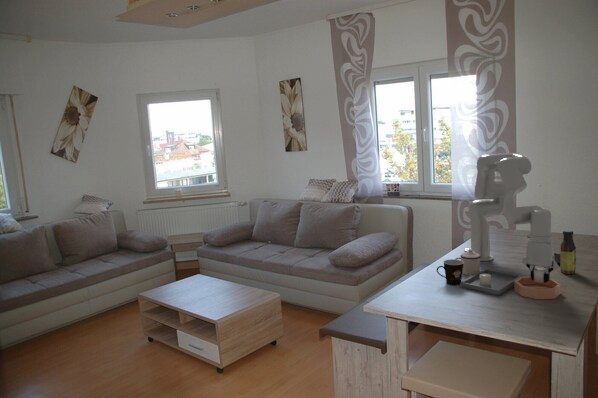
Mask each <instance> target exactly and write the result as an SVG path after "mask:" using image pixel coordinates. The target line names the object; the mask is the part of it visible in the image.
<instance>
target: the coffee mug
mask: <svg viewBox="0 0 598 398" xmlns="http://www.w3.org/2000/svg"><path fill="white" fill-rule="evenodd" d="M463 263H464V262H463V261H461V259H457V260H455V258H454V259H444V260H443V265H439V266H437V267H436V272H437V275H439V276H441V277H442V278H444V279H445V282H446V285H448V286H456V287H457V286H460V282H462V279H463V274H462V272H463ZM440 268H442V269H444V274H445V275H442V274H440V272H439V269H440Z"/></svg>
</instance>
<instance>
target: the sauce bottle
mask: <svg viewBox="0 0 598 398" xmlns="http://www.w3.org/2000/svg"><path fill="white" fill-rule="evenodd" d="M562 235H563V239H562V242H561V244H560V252H559V254H560V266H559V269H560V272H561V274H564V275H575V273H576V270H577V247H576V244H575V242H574V238H573V237H574V230H570V229H566V230H565V229H564V230H563V231H562Z"/></svg>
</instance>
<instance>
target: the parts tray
mask: <svg viewBox="0 0 598 398" xmlns="http://www.w3.org/2000/svg"><path fill="white" fill-rule="evenodd" d="M480 274H489V275H491V287H490V288H487V287H483V286H480ZM520 277H523V275H522V274H516V273H509V272H504V271H499V270H495V269H494V270H493V269H488V268H484V269H483V270H480V272H479V273H477V274H475V275H473V276H469V277H467V278H466V279H464V280H463V281H461V282H460V285H459V288H460V289H464V290H468V291H469V290H470V291H473V292H476V293H477V292H478V293H483V294H487V295H490V296H491V295H492V296H495V297H500V296H502V295H503V294H504V293H506V292H507V291H509V290H511V289H513V288H514V281H515V280H517V279H519V278H520Z"/></svg>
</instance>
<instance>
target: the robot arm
mask: <svg viewBox="0 0 598 398" xmlns="http://www.w3.org/2000/svg"><path fill="white" fill-rule="evenodd" d="M476 171H477V174H476V181H475V184H474V185H475V186H474V196H475V198H477V199H475V200H472V201H471V202H470V203H469V204H468V207H467V208H468V213H469V215H468V216H469V219H470V220H469V221H470V223H469V224H470V248H466V247H465V248H464V252H463V253H465V252H467V251H468V250H469V249H472V250H473V252H475V253H478V254H480V256H481V257H480V262H488V261H492V260H494V256H493V254H491V226H490V223H489V221H488V220H487V219H486V218H493V217H499V216H501V215H502V214H503V213H504V212H505V214H506V217H507V218H508V220H509V222H510V223H512V224H513V225H518V226H519V225H528V224H529V225H530V227H529V228H530V230H529V231H530V233H529V234H526V238H528V239H529V240H528V241H527V245H526V249H525V250H526V251H525V257H524V259H522V261H521V263H523V264H524V265H525V266H526V267H527V269H529V271H530V274H529V275H530V276H529V277H531V280H534V269H535V268H536V266H537V267H540V268H543V269H545V273H544V283H546V282H548V281H549V279H551V277H550V275H551V274H550V273H551V272H552V271H555V270H557V269H558V268H560V266H558V264H557V263H556V261H555V260H554V253H555V250H554V245H553V242H552V241H551V239H552V238H551V237H552V235H551V234H552V213H551V210H549V209H547V208H543V207H541V206H538V205H529V206H528V205H527V206H526V205H525V206H517V205H516V204H515V201H514V197H515V196H516V195H518V194H520V193H522V192H524V191H525V190H526V188H527V186H528V182H527V181H526V179H525V177H524V176H525V175H528V174H529V173H530V172H531V171H532V163H531V160H529V158H527V157H526V156H525V155H524V156H523V155H521V154H517V153H513V152H507V153H506V152H505V153H491V154H483V155H480V156H479V157H478V159H477V162H476ZM496 172H498V174H499V175H500V177H501V179H495V178H496ZM552 265H553V266H552Z"/></svg>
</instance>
